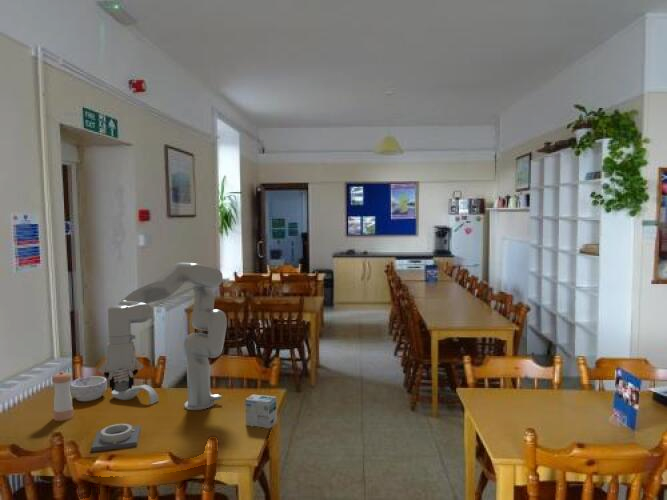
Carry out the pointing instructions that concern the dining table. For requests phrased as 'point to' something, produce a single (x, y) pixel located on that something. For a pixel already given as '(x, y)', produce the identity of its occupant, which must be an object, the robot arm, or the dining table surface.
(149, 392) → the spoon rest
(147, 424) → the dining table surface
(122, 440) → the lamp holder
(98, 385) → the marbled white bowl
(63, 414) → the salt shaker
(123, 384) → the light bulb
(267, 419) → the light bulb box
